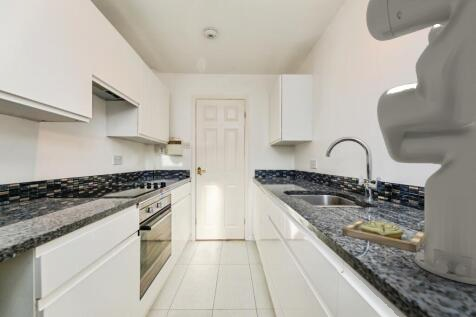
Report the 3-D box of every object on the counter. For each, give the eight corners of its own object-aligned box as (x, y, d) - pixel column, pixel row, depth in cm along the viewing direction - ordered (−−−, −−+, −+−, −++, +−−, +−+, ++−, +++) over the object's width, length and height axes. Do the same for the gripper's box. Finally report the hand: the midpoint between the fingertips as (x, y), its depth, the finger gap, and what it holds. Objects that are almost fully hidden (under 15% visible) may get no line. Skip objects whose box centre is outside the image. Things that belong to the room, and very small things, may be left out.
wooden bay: (416, 252, 56) (416, 245, 56) (342, 234, 69) (342, 228, 69) (425, 238, 67) (425, 232, 67) (359, 225, 80) (359, 220, 80)
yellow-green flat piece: (353, 233, 71) (353, 221, 71) (375, 229, 76) (375, 218, 76) (386, 244, 62) (386, 230, 62) (410, 239, 66) (410, 226, 66)
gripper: (479, 59, 54) (479, 130, 54) (478, 78, 66) (478, 137, 66) (438, 68, 59) (437, 133, 59) (443, 84, 71) (443, 138, 71)
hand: (459, 135), depth 62 cm, fingers open, 9 cm apart
